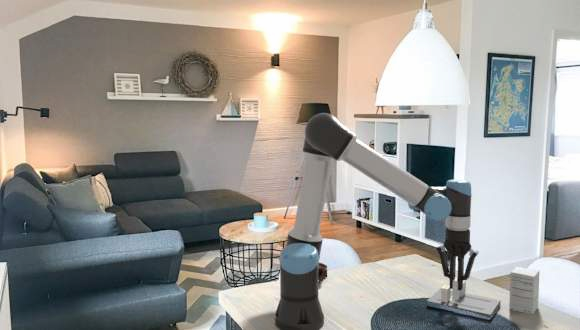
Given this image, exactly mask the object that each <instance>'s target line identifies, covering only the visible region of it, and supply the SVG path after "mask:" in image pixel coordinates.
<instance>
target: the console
mask: <svg viewBox="0 0 580 330" xmlns="http://www.w3.org/2000/svg"><path fill="white" fill-rule="evenodd" d="M441 288H442V287H441ZM441 288H439V289H438V290H437V291H435V293H434V294H433V295H431V296H430V297H429V298H428V299H427V300H426V303H427V302H432V303H437V304H441V305H445V306H448V307H452V308H455V309H460V310H465V311H469V312H473V313H476V314H479V315H482V316H486V317H489V318H491V316H492V315H493V314H494V313H495V314H496V313H497V312H498V310H499V309H500V307H501V301H502V300H501V299H497V298H496V299H495V298H491V297H486V296H480V295H476V294H471V293H465V295H464V296H463V297H461V296H459V299H458V300H457V301H456V300H452V293H453V289H451V296H450V300H449V301H448V302H447V303H446V302H441Z"/></svg>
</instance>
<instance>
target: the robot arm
mask: <svg viewBox="0 0 580 330" xmlns="http://www.w3.org/2000/svg"><path fill="white" fill-rule="evenodd" d="M304 129H305V130H304V135H305V136H304V141H303V148H302V153H303V154H304V156H305V163H304V167H303V175H302V179H301V186H300V190H299V197H298V203H297V208H296V215H295V221H294V223H293V224H294V225H293V226H294V227H293V228H292V229H291V230H289V231H288V232H287V239H286V244H285V246H284V247H282V249H281V250H280V253H279V259H278V260H279V267H280V268H279V270H280V271H279V274H280V275H279V278H280V282H279V283H280V284H279V287H280V288H279V289H280V290H279V291H280V292H279V293H280V295H279V296H280V298H279V302H278V303H277V304H278V305H277V307H276V311H275V315H274V324H275V326H276V327H277V328H278V329H279V330H319V329H321V328H323V327H324V324H325V314H324V312H323V307H322V306H321V305H322V304H321V303H320V299H319V280H318V268H319V263H320V260H321V259H320V258H321V252H322V245H323V241H324V240H323V239H324V238H323V236H322V234H321V233H320V231H321V226H322V220H323V215H324V209H325V204H326V199H327V198H326V197H327V193H328V192H327V191H328V187H329V184H330V183H329V182H330V181H329V180H330V177H331V170H332V165H333V162H334V161H337V162H339V161H343V162H344V163H346V164H348V165H349V166H351V167H352V168H353V169H356V170H357V171H359V173H361V174H363V175H365V176H366V177H367V178H369V179H371V180H373V181H374V182H375V183H377V184H378V185H380V186H382V187H384V188H385V189H387V191H389V192H391V193H392V194H394V195H395V196H397V197H398V198H400V199H401V200H403V201H405V202H406V203H407V205H408V208H409V209H410V210H414V211H420V212H421V213H423V214H424V215H426V217H427V218H428V219H431V220H433V221H436V222H437V221H438V222H439V221H444V220H445V227H446V228H445V229H444V230H445V232H444V235H445V239H444V242H443V244H441V245H438V246H437V247H436V251H437V253H438V255H439V258H440V264H441V267H442V273H443V276H444V277H446V278H448V279H449V286H450V289H451V290H452V291H453V293H452V300H456V301H457V300H458V299H459V293H460V291H461V290H462V288H463V281H467V280H468V279H469V278H470V275H471V271H472V268H473V266H474V261H475V259H476V257H477V256H478V255H479V250H478V251H477V250H475V249H473V248H472V245H471V229H470V228H471V217H472V216H471V208H472V207H471V206H472V196H473V195H472V183H471V182H470V181H468V180H466V179H449V180H447V181H446V184H445V185H444V186H429V185H428V184H426V183H425V182H424V181H422V180H421V179H419V178H417V177H416V176H414V175H413V174H411V173H410V172H408V171H407V170H405V169H404V168H402V167H400V166H399V165H397V164H395V162H394V161H391V160H389V159H388V158H387V157H385V156H384V155H383V154H381V153H379V152H377V151H376V150H375V149H373V148H372V147H370V146H369V145H367V144H366V143H364V142H362V141H361V140H359V139H358V138H357V136H356V133H355V132H353V131H351V129H349V128H348V127H346V126H345V125H344V124H343V123H342V122H341V121H340V119H339V118H338V117H337V116H335V115H334V114H331V113H329V112H321V113H318V114H315V115H313V116H312V117H311V118H310V119H309V120H308V121H307V123H306V126H305V128H304ZM446 252H447V253H448V254H449V263H448V258H447V254H446ZM468 253H469V254H468ZM467 254H468V255H469V258H468V261H467V264H466V267H465V266H464V265H465V263H464V262H465V256H466V255H467ZM456 259H457V260H456ZM456 261H457V262H456ZM456 265H457V266H456ZM456 267H457V275H456ZM464 267H465V269H464ZM464 271H465V272H464Z"/></svg>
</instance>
